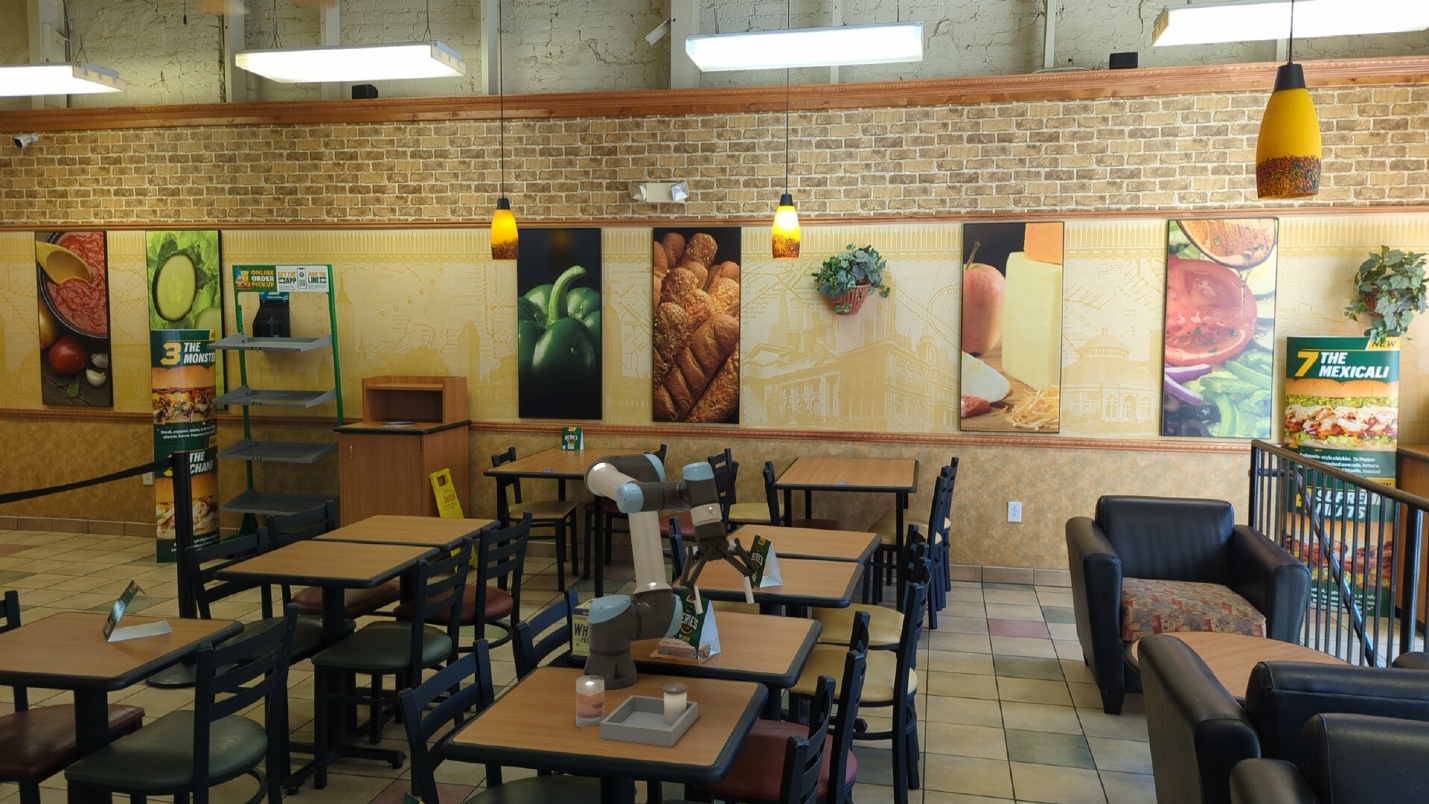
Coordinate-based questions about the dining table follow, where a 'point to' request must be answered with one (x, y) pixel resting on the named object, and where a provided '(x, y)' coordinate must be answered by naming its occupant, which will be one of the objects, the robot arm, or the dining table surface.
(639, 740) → the grey tray
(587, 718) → the clear orange banded jar
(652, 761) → the dining table surface
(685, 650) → the packaged product
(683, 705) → the capped white cylinder
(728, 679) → the dining table surface
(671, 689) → the cup lid
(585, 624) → the protein box
